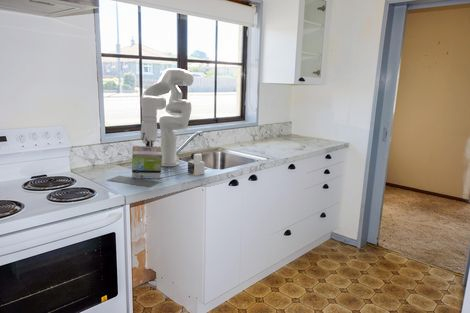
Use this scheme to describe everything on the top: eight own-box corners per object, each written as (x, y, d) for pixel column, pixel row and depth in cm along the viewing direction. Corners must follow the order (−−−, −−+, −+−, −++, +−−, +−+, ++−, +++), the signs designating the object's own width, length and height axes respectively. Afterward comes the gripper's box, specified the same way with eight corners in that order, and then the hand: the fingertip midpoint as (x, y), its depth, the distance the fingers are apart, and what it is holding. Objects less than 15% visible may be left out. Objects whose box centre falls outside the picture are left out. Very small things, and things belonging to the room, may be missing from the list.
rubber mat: (119, 176, 198) (119, 175, 198) (161, 182, 189) (161, 181, 189) (106, 180, 188) (106, 179, 188) (150, 187, 180) (150, 186, 180)
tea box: (131, 178, 192) (132, 154, 185) (131, 168, 200) (132, 145, 193) (160, 178, 196) (162, 155, 189) (159, 168, 205) (161, 145, 197)
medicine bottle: (187, 173, 210) (187, 152, 208) (198, 171, 215) (198, 151, 212) (193, 175, 205) (194, 155, 202) (204, 174, 209) (205, 153, 206)
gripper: (151, 118, 204) (151, 150, 208) (135, 120, 190) (135, 154, 194) (162, 119, 202) (162, 151, 205) (147, 121, 188) (147, 156, 191)
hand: (149, 153), depth 199 cm, fingers closed
